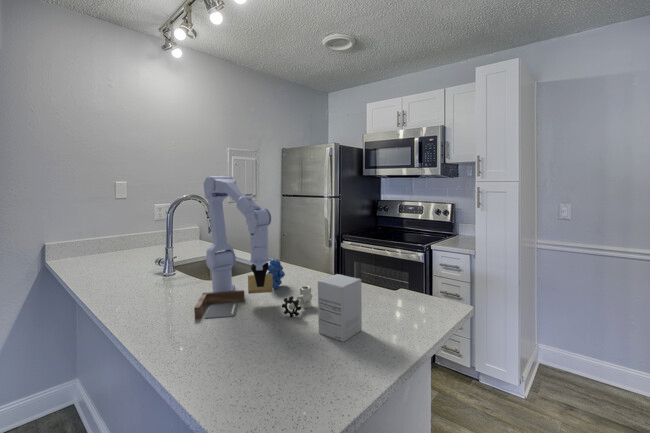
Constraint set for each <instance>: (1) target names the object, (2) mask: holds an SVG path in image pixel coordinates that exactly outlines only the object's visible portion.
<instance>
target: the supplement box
mask: <svg viewBox="0 0 650 433" xmlns="http://www.w3.org/2000/svg"><path fill="white" fill-rule="evenodd" d="M362 307H363V306H362V279H361V278H357V277H352V276H348V275H343V274H340V273H339V274H338V273H336V274H334V275H331V276H328V277H326V278H324V279H320V280H318V281H317V310H318V311H317V313H318V315H317V316H318V334H320V335H323V336H326V337H329V338H332V339H334V340H337V341H341V342H343V343H344V342H346V341H347V340H349V339H351V338H352V337H353V336H355V335H357V334H358V333H360V332H361V331H362V330H363V329H362V328H363V325H362V324H363V322H362V318H363V317H362V311H363V310H362Z"/></svg>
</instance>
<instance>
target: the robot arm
mask: <svg viewBox="0 0 650 433" xmlns="http://www.w3.org/2000/svg"><path fill="white" fill-rule="evenodd" d="M236 181H237V180H236V179H235V178H234V177H233V176H232V175H227V176H223V175H222V176H216V175H215V176H212V175H208V176H206V177H205V179H204V181H203V192H204V198H205V199H206V200H207V205H208V212H209V213H208V214H209V223H210V231H211V238H212V239H211V240H212V244H211V245H210V246H209V247H208V248H207V249H206V257H205V263H206V267H207V268H208V269H209V270H210V271H211V284H212V285H211V286H212V289H211V290H210V292H223V291H234V289H235V284H233V279H232V276H233V275H232V268H234V265H235V263H236V261H237V255H236V253H235V251H234V246H233V245H232V244H229V242H228V241H227V233H226V232H227V231H226V224H225V223H226V222H225V214H224V206H223V205H224V204H223V202H224V200H225V199H227V198H230V199H232V200H233V201H234V202H235V203H236V208H237V210H238V211H239V212H240V213H241V214H242V215H243V216H244V217H245V223H246V225H247V230H248V232H249V239H250V240H249V241H250V243H249V244H250V263H251V266H250V269H251V272H252V273H253V275H254V276H255V280H256V284H257V287H264V282H265V276H266V274H267V273H268V268H269V266H268V265H269V262H270V261H272V259H273V258H272V257H269V234H268V233H269V226H270V225H271V222H272V214H271V212H270V210H269V209H268V208H262V207H260V205H258V204H257V203H256V202H255V200H253V198H252V197H251V196H249V195H244V193H242V191H241V189H240V188H239V187H238V186H237V182H236Z"/></svg>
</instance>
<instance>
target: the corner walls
mask: <svg viewBox="0 0 650 433" xmlns="http://www.w3.org/2000/svg"><path fill="white" fill-rule="evenodd" d="M245 300H246V299H245V290H244V289H241V290H239V289H238V290H233V291H223V292H211V291H210V292H202V293H201V295H200V297H199V299H198V301H197V302H196V304H195V306H194V309H193V311H194V319H196V320H197V319H199V320H200V319H201V317H202V315H203V313H204V311H205V309H206V307H207V305H208V304H210V305H211V304H226V303H239V302H245Z"/></svg>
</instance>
